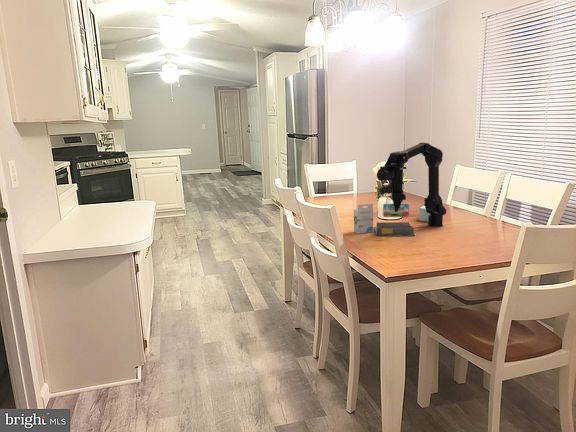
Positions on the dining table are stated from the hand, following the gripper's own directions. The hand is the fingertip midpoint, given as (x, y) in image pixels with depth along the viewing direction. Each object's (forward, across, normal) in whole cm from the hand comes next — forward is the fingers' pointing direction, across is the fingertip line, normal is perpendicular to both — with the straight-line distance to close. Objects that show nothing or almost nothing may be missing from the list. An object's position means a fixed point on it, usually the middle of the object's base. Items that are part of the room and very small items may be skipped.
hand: (395, 211), depth 212 cm
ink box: (+12, -4, -15) cm, 20 cm away
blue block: (+3, 0, 0) cm, 3 cm away
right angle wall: (+12, -31, +25) cm, 42 cm away
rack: (+11, -4, 0) cm, 12 cm away
